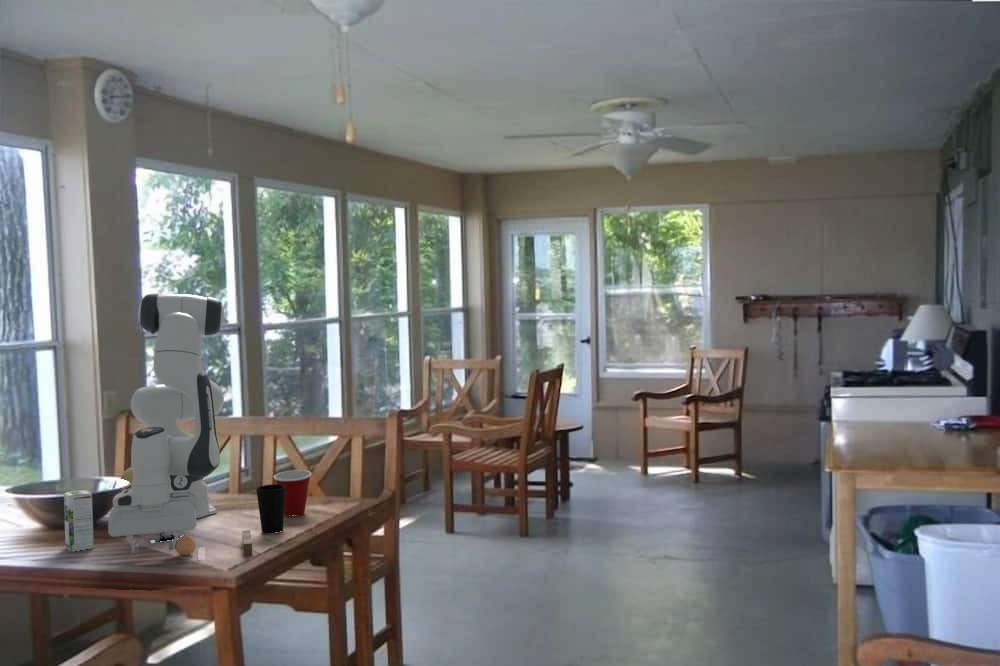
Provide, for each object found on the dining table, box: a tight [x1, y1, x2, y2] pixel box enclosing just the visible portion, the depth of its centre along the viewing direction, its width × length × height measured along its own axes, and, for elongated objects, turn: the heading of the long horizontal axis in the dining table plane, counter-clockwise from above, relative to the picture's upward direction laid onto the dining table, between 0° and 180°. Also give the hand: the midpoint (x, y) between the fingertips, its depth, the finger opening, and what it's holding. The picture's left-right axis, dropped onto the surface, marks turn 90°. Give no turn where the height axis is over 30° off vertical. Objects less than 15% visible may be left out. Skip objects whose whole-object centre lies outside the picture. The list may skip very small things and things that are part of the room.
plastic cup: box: [273, 469, 312, 517], centre depth 271 cm, size 11×11×12 cm
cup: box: [255, 483, 286, 534], centre depth 252 cm, size 8×8×12 cm
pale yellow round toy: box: [120, 466, 134, 491], centre depth 299 cm, size 10×12×11 cm
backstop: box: [241, 529, 253, 557], centre depth 235 cm, size 14×2×3 cm, turn 17°
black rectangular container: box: [152, 532, 181, 542], centre depth 247 cm, size 12×7×5 cm, turn 118°
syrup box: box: [63, 489, 95, 553], centre depth 239 cm, size 6×6×14 cm
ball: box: [175, 535, 197, 556], centre depth 231 cm, size 5×5×5 cm
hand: (154, 551), depth 229 cm, fingers open, 7 cm apart
